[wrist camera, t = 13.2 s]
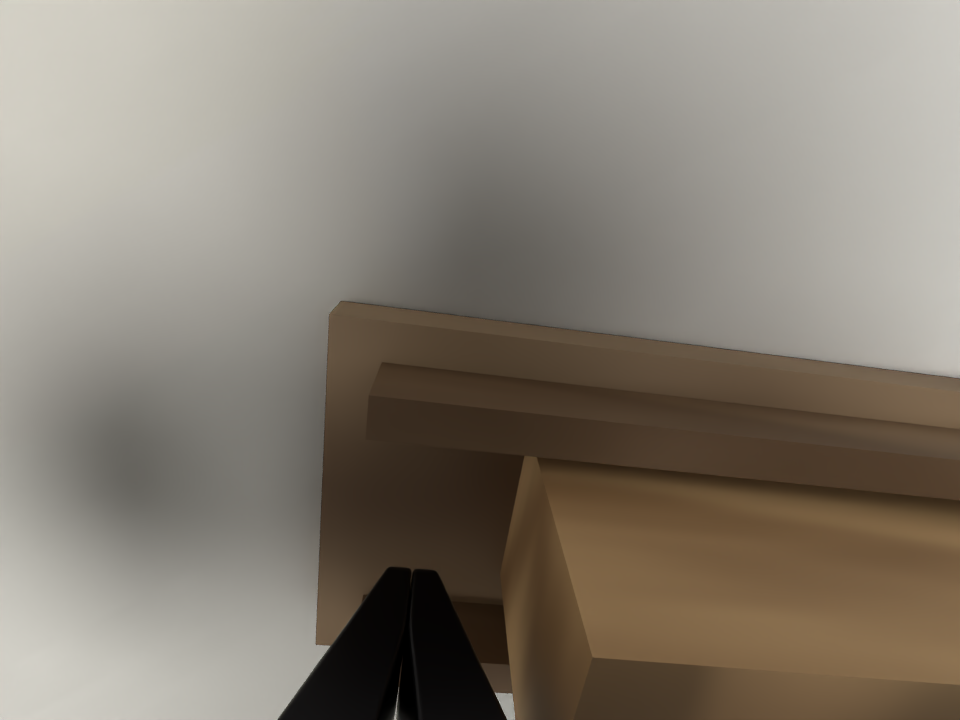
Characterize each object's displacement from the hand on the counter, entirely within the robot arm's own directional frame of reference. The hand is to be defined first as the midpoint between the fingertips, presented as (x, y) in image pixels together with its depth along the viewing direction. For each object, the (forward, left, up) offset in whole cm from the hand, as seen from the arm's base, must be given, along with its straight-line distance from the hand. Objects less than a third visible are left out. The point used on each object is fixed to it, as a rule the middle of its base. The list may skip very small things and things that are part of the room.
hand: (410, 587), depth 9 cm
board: (0, -8, -3) cm, 9 cm away
